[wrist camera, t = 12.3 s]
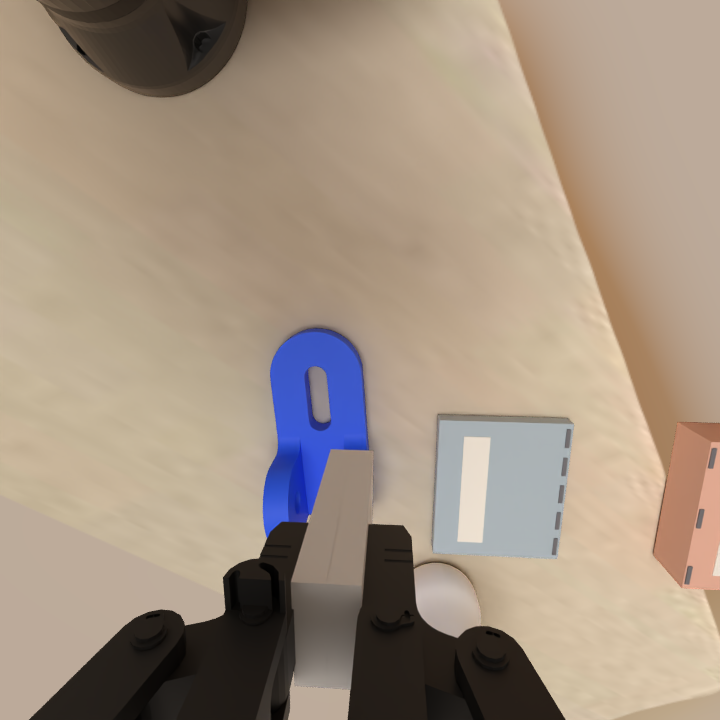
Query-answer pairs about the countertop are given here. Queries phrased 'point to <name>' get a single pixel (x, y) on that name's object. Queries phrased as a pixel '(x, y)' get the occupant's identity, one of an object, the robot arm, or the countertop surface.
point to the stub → (692, 508)
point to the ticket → (500, 485)
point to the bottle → (446, 598)
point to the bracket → (311, 421)
